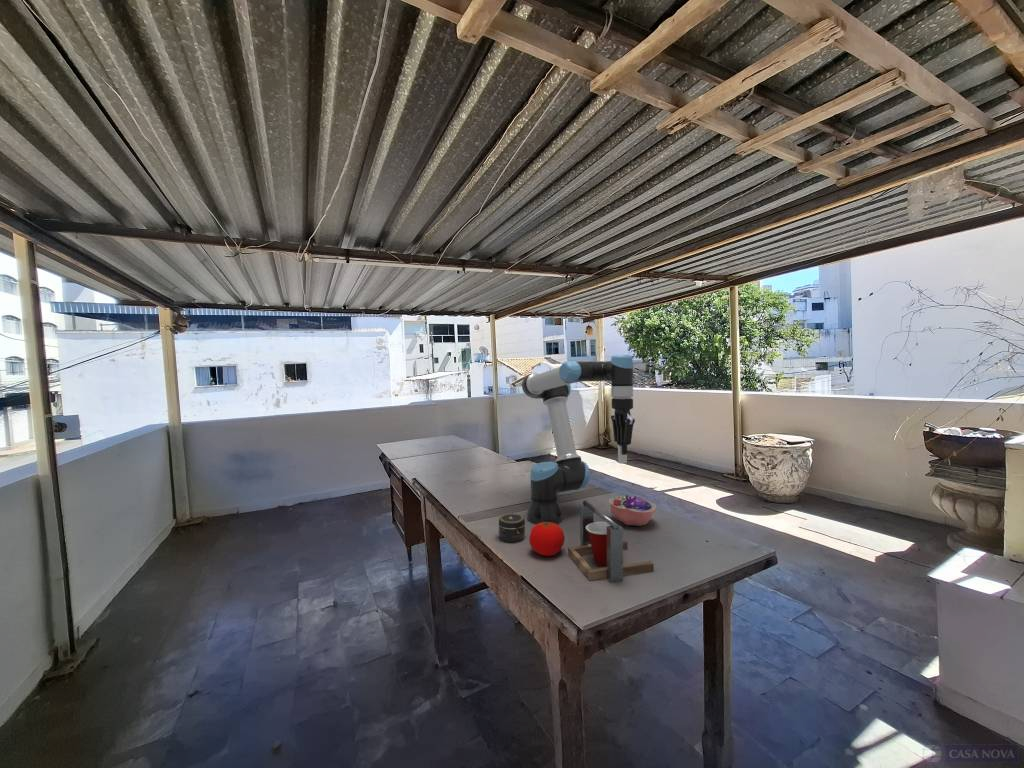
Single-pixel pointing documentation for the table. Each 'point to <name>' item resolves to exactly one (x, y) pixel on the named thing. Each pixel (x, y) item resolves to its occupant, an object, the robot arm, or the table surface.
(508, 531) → the jar
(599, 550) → the plastic cup
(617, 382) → the robot arm
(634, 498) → the cell model
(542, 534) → the tomato
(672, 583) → the table surface
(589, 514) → the grey and wooden frame
